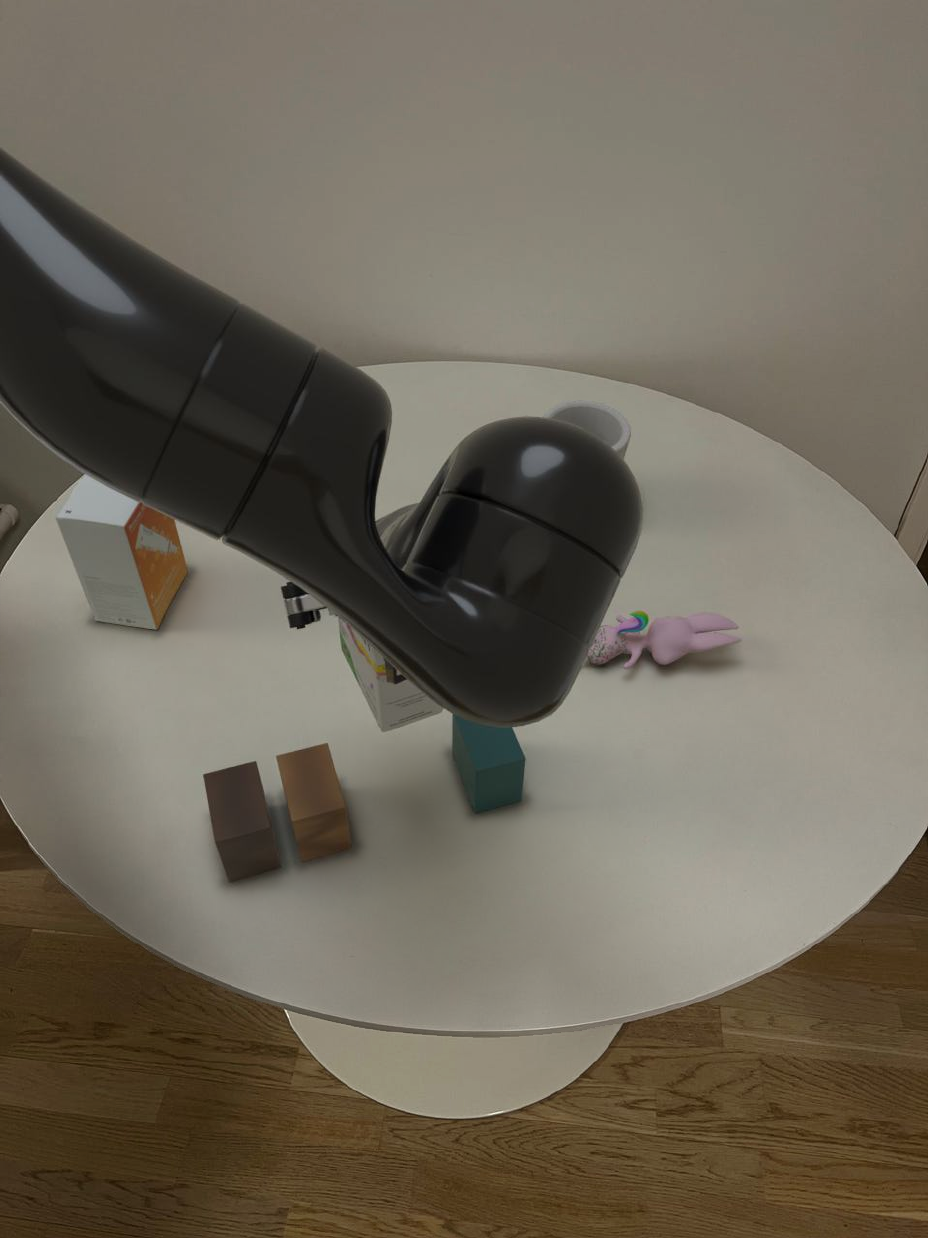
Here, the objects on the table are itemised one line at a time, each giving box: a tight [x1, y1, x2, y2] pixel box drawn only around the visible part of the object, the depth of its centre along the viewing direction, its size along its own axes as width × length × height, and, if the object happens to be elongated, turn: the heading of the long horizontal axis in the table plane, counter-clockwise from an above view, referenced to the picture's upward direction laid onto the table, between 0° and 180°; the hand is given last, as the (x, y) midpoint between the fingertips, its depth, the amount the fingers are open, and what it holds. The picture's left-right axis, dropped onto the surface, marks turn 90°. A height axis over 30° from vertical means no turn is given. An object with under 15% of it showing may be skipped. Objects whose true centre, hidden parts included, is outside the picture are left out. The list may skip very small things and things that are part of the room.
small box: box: [55, 474, 189, 630], centre depth 90 cm, size 8×6×13 cm
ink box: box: [337, 616, 444, 733], centre depth 68 cm, size 8×5×12 cm, turn 24°
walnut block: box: [202, 760, 282, 883], centre depth 76 cm, size 4×6×6 cm, turn 18°
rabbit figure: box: [586, 610, 743, 670], centre depth 89 cm, size 6×6×15 cm
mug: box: [522, 400, 632, 460], centre depth 101 cm, size 12×9×10 cm
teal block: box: [451, 713, 526, 814], centre depth 80 cm, size 4×6×6 cm, turn 18°
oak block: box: [275, 742, 352, 863], centre depth 77 cm, size 4×6×6 cm, turn 18°
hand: (377, 583), depth 67 cm, fingers closed on ink box, 5 cm apart
